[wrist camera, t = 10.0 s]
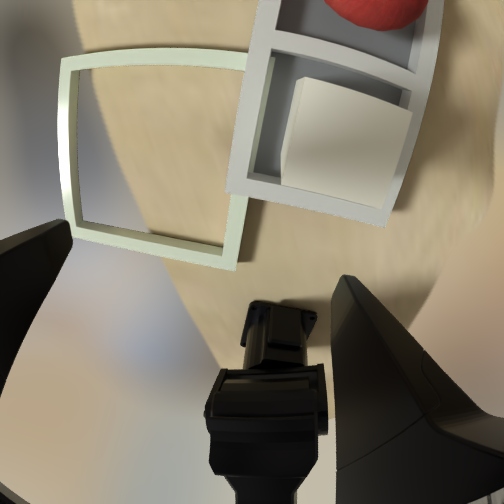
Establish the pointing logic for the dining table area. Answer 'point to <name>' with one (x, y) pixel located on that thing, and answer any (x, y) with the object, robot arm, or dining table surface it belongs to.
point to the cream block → (342, 142)
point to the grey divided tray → (332, 71)
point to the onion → (379, 12)
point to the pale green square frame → (69, 159)
